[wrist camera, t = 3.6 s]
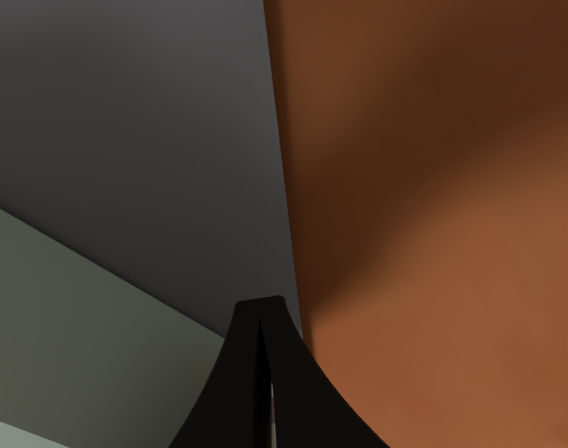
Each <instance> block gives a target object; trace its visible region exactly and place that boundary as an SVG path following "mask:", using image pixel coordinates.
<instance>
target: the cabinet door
mask: <svg viewBox="0 0 568 448" xmlns="http://www.w3.org/2000/svg"><path fill="white" fill-rule="evenodd" d="M224 340H225V339H224V338H222V337H221V336H219V335H217V334H216V333H214V332H212V331H210V330H209V329H207V328H205V327H203V326H202V325H200V324H198V323H197V322H195V321H193V320H191V319H190V318H188V317H186V316H184V315H183V314H181V313H179V312H178V311H176V310H174V309H172V308H171V307H169V306H167V305H165V304H164V303H162V302H160V301H159V300H157V299H155V298H153V297H152V296H150V295H148V294H146V293H145V292H143V291H141V290H140V289H138V288H136V287H134V286H133V285H131V284H129V283H127V282H126V281H124V280H122V279H121V278H119V277H117V276H115V275H114V274H112V273H110V272H108V271H107V270H105V269H103V268H102V267H100V266H98V265H96V264H95V263H93V262H91V261H89V260H88V259H86V258H84V257H83V256H81V255H79V254H77V253H76V252H74V251H72V250H70V249H69V248H67V247H65V246H64V245H62V244H60V243H58V242H57V241H55V240H53V239H51V238H50V237H48V236H46V235H45V234H43V233H41V232H39V231H38V230H36V229H34V228H32V227H31V226H29V225H27V224H26V223H24V222H22V221H20V220H19V219H17V218H15V217H13V216H12V215H10V214H8V213H7V212H5V211H3V210H1V209H0V448H168V446H169V445H170V443H171V442H172V440H173V439H174V437H175V436H176V434H177V433H178V431H179V429H180V428H181V426H182V425H183V423H184V422H185V420H186V418H187V417H188V415H189V413H190V411H191V410H192V408H193V406H194V405H195V403H196V401H197V399H198V397H199V395H200V393H201V392H202V390H203V388H204V386H205V384H206V381H207V379H208V377H209V375H210V373H211V371H212V369H213V367H214V364H215V362H216V360H217V358H218V355H219V352H220V350H221V347H222V345H223V342H224ZM274 423H275V416H274V400H273V397H272V448H276V445H275V432H274Z"/></svg>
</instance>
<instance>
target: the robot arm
mask: <svg viewBox="0 0 568 448" xmlns="http://www.w3.org/2000/svg"><path fill="white" fill-rule="evenodd" d="M272 386H273V400H274V416H275V433H276V448H390V447H389V446H388V445H387V444H386V443H385V442H384V441H383V440H382V439H380V438H379V436H378V435H377V434H376V433H375V432H374V431H373V430H372V429H371V428H370V427H369V426H368V425H367V424H366V423H365V422H364V421H363V420H362V419H361V418H360V417H359V416H358V415H357V414H356V412H355V411H354V410H353V409H352V408H351V407H350V405H349V404H348V403H347V402H346V401H345V400H344V398H343V397H342V396H341V395H340V393H339V392H338V391H337V390H336V388H335V387H334V386H333V385H332V383H331V382H330V381H329V379H328V378H327V377H326V375H325V374H324V372H323V371H322V370H321V368H320V367H319V365H318V364H317V362H316V361H315V359H314V358H313V356H312V355H311V353H310V351H309V350H308V348H307V346H306V345H305V343H304V341H303V339H302V338H301V336H300V334H299V332H298V330H297V329H296V327H295V324H294V322H293V320H292V318H291V316H290V313H289V311H288V308H287V305H286V302H285V298H284V297H283V296H281V295H277V296H270V297H263V298H256V299H249V300H243V301H238V302H237V303H236V304H235V307H234V311H233V315H232V319H231V322H230V325H229V329H228V331H227V334H226V337H225V340H224V342H223V345H222V347H221V350H220V352H219V355H218V358H217V360H216V362H215V364H214V367H213V369H212V371H211V373H210V375H209V377H208V379H207V381H206V384H205V386H204V388H203V390H202V392H201V393H200V395H199V397H198V399H197V401H196V403H195V405H194V406H193V408H192V410H191V411H190V413H189V415H188V417H187V418H186V420H185V422H184V423H183V425H182V426H181V428H180V429H179V431H178V433H177V434H176V436H175V437H174V439H173V440H172V442H171V443H170V445H169V446H168V448H272Z"/></svg>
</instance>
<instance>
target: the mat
mask: <svg viewBox="0 0 568 448" xmlns="http://www.w3.org/2000/svg"><path fill="white" fill-rule="evenodd" d="M0 209H1V210H3V211H5V212H7V213H8V214H10V215H12V216H13V217H15V218H17V219H19V220H20V221H22V222H24V223H26V224H27V225H29V226H31V227H32V228H34V229H36V230H38V231H39V232H41V233H43V234H45V235H46V236H48V237H50V238H51V239H53V240H55V241H57V242H58V243H60V244H62V245H64V246H65V247H67V248H69V249H70V250H72V251H74V252H76V253H77V254H79V255H81V256H83V257H84V258H86V259H88V260H89V261H91V262H93V263H95V264H96V265H98V266H100V267H102V268H103V269H105V270H107V271H108V272H110V273H112V274H114V275H115V276H117V277H119V278H121V279H122V280H124V281H126V282H127V283H129V284H131V285H133V286H134V287H136V288H138V289H140V290H141V291H143V292H145V293H146V294H148V295H150V296H152V297H153V298H155V299H157V300H159V301H160V302H162V303H164V304H165V305H167V306H169V307H171V308H172V309H174V310H176V311H178V312H179V313H181V314H183V315H184V316H186V317H188V318H190V319H191V320H193V321H195V322H197V323H198V324H200V325H202V326H203V327H205V328H207V329H209V330H210V331H212V332H214V333H216V334H217V335H219V336H221V337H222V338H224V339H225V337H226V334H227V331H228V329H229V325H230V322H231V319H232V315H233V311H234V307H235V304H236V303H237V302H238V301H243V300H249V299H256V298H263V297H270V296H277V295H281V296H283V297H284V298H285V302H286V305H287V308H288V311H289V313H290V316H291V318H292V320H293V322H294V324H295V327H296V329H297V330H298V332H299V334H300V336H301V338H302V339H303V334H302V325H301V317H300V309H299V300H298V292H297V283H296V275H295V266H294V258H293V250H292V241H291V233H290V224H289V216H288V207H287V199H286V191H285V182H284V174H283V165H282V157H281V149H280V140H279V132H278V123H277V115H276V106H275V98H274V90H273V81H272V73H271V64H270V56H269V48H268V39H267V31H266V22H265V14H264V5H263V0H0ZM272 397H273V386H272ZM274 432H275V423H274ZM275 445H276V433H275Z"/></svg>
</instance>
